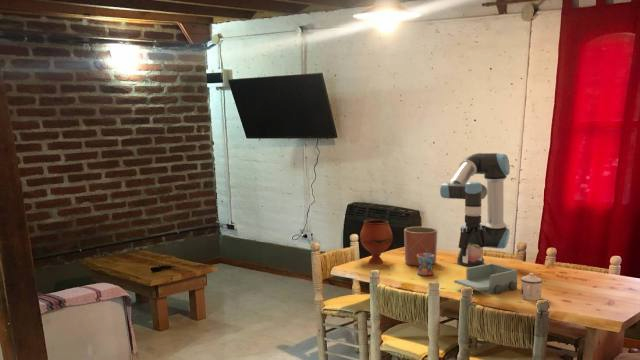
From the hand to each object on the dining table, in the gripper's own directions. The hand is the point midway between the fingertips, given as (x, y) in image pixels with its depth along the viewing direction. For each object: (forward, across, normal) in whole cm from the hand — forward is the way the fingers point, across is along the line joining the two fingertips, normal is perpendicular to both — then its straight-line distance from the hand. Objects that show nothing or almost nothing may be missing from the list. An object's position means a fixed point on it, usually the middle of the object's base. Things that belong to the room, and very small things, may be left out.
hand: (472, 261), depth 250 cm
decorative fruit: (+1, 0, 0) cm, 1 cm away
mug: (+15, -3, -35) cm, 38 cm away
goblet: (+15, +6, -69) cm, 71 cm away
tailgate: (+12, -4, 0) cm, 12 cm away
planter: (+15, -15, -54) cm, 58 cm away
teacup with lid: (+15, -15, +22) cm, 30 cm away
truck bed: (+15, -14, 0) cm, 20 cm away
